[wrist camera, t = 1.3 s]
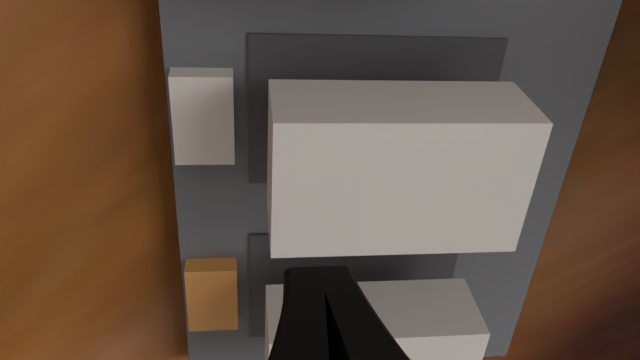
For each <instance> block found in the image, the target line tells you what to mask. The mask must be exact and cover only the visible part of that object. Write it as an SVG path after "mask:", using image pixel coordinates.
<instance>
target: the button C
mask: <svg viewBox="0 0 640 360" xmlns="http://www.w3.org/2000/svg"><path fill="white" fill-rule="evenodd" d="M357 283H358V284H359V286H360V288H361V290H362V291H363V293H364V295H365V296H366V298H367V299H368V301H369V302H370V304H371V306H372V307H373V309H374V310H375V312H376V313H377V315H378V316H379V318H380V319H381V321H382V322H383V324H384V325H385V326H386V328H387V329H388V331H389V332H390V333H391V335H392V336H393V337H394V339H395V340H396V342H397V343H398V344H399V346H400V347H401V348H402V350H403V351H404V352H405V353H406V355H407V356H408V357H409V358H410V360H483V357H484V354H485V350H486V347H487V343H488V340H489V337H490V332H489V330H488V328H487V326H486V324H485V321H484V319H483V317H482V315H481V313H480V311H479V308H478V306H477V304H476V302H475V300H474V298H473V296H472V293H471V291H470V289H469V287H468V285H467V283H466V281H465V278H458V279H428V280H398V281H368V282H357ZM282 304H283V284H277V285H266V298H265V360H268V357H269V355H270V352H271V349H272V345H273V342H274V338H275V334H276V330H277V327H278V323H279V319H280V314H281V309H282Z"/></svg>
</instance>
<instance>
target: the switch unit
mask: <svg viewBox="0 0 640 360" xmlns="http://www.w3.org/2000/svg"><path fill="white" fill-rule="evenodd" d="M158 1H159V13H160V25H161V36H162V48H163V60H164V72H165V83H166V95H167V107H168V119H169V131H170V142H171V154H172V166H173V178H174V189H175V201H176V213H177V225H178V236H179V248H180V260H181V272H182V283H183V295H184V307H185V319H186V330H187V342H188V354H189V360H265V298H266V285H277V284H283V283H284V271H285V270H287V269H288V268H289V267H318V266H347V267H348V268H349V269H350V270H351V272H352V274H353V275H354V277H355V279H356V281H357V282H368V281H398V280H428V279H458V278H465V281H466V283H467V285H468V287H469V289H470V291H471V293H472V296H473V298H474V300H475V302H476V304H477V306H478V308H479V311H480V313H481V315H482V317H483V319H484V321H485V324H486V326H487V328H488V330H489V332H490V337H489V340H488V343H487V347H486V350H485V354H484V357H490V356H506V354H507V351H508V348H509V345H510V342H511V339H512V336H513V333H514V330H515V327H516V324H517V321H518V318H519V315H520V312H521V309H522V306H523V302H524V299H525V296H526V293H527V290H528V287H529V284H530V281H531V278H532V275H533V272H534V269H535V266H536V263H537V260H538V257H539V254H540V251H541V248H542V245H543V242H544V238H545V235H546V232H547V229H548V226H549V223H550V220H551V217H552V214H553V211H554V208H555V205H556V202H557V199H558V196H559V193H560V190H561V187H562V184H563V181H564V178H565V174H566V171H567V168H568V165H569V162H570V159H571V156H572V153H573V150H574V147H575V144H576V141H577V138H578V135H579V132H580V129H581V126H582V123H583V120H584V117H585V114H586V110H587V107H588V104H589V101H590V98H591V95H592V92H593V89H594V86H595V83H596V80H597V77H598V74H599V71H600V68H601V65H602V62H603V59H604V56H605V53H606V50H607V46H608V43H609V40H610V37H611V34H612V31H613V28H614V25H615V22H616V19H617V16H618V13H619V10H620V7H621V4H622V1H623V0H158ZM269 79H296V80H395V81H494V82H514V83H515V84H516V85H517V86H518V87H519V88H520V89H521V90H522V91H523V92H524V93H525V94H526V95H527V97H528V98H529V99H530V100H531V101H532V102H533V103H534V104H535V105H536V106H537V107H538V108H539V109H540V110H541V111H542V112H543V113H544V114H545V115H546V117H547V118H548V119H549V120H550V121H551V122H552V123H553V126H552V130H551V133H550V136H549V140H548V143H547V146H546V150H545V153H544V156H543V160H542V163H541V166H540V170H539V173H538V176H537V180H536V183H535V186H534V190H533V193H532V196H531V200H530V203H529V206H528V210H527V213H526V216H525V220H524V223H523V227H522V230H521V233H520V237H519V240H518V243H517V247H516V250H515V251H512V252H476V253H440V254H403V255H367V256H331V257H295V258H270V243H269V228H268V213H267V155H268V83H269Z"/></svg>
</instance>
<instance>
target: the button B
mask: <svg viewBox="0 0 640 360" xmlns="http://www.w3.org/2000/svg"><path fill="white" fill-rule="evenodd" d="M552 126H553V123H552V122H551V121H550V120H549V119H548V118H547V117H546V115H545V114H544V113H543V112H542V111H541V110H540V109H539V108H538V107H537V106H536V105H535V104H534V103H533V102H532V101H531V100H530V99H529V98H528V97H527V95H526V94H525V93H524V92H523V91H522V90H521V89H520V88H519V87H518V86H517V85H516V84H515V83H514V82H494V81H395V80H296V79H269V83H268V155H267V213H268V228H269V243H270V258H295V257H331V256H367V255H403V254H440V253H476V252H512V251H515V250H516V247H517V243H518V240H519V237H520V233H521V230H522V227H523V223H524V220H525V216H526V213H527V210H528V206H529V203H530V200H531V196H532V193H533V190H534V186H535V183H536V180H537V176H538V173H539V170H540V166H541V163H542V160H543V156H544V153H545V150H546V146H547V143H548V140H549V136H550V133H551V130H552Z"/></svg>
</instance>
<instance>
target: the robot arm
mask: <svg viewBox="0 0 640 360" xmlns="http://www.w3.org/2000/svg"><path fill="white" fill-rule="evenodd" d="M268 360H410V358H409V357H408V356H407V355H406V353H405V352H404V351H403V350H402V348H401V347H400V346H399V344H398V343H397V342H396V340H395V339H394V337H393V336H392V335H391V333H390V332H389V331H388V329H387V328H386V326H385V325H384V324H383V322H382V321H381V319H380V318H379V316H378V315H377V313H376V312H375V310H374V309H373V307H372V306H371V304H370V302H369V301H368V299H367V298H366V296H365V295H364V293H363V291H362V290H361V288H360V286H359V284H358V283H357V281H356V279H355V277H354V275H353V274H352V272H351V270H350V269H349V268H348V267H347V266H318V267H289V268H288V269H287V270H285V271H284V283H283V304H282V309H281V314H280V319H279V323H278V327H277V330H276V334H275V338H274V342H273V345H272V349H271V352H270V355H269V357H268Z"/></svg>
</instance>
